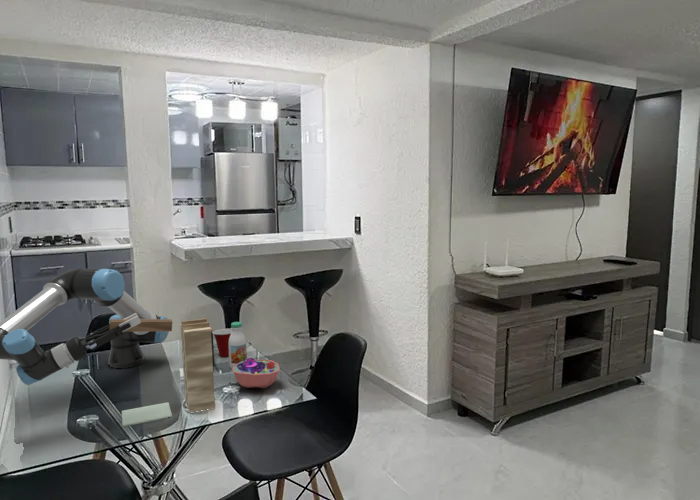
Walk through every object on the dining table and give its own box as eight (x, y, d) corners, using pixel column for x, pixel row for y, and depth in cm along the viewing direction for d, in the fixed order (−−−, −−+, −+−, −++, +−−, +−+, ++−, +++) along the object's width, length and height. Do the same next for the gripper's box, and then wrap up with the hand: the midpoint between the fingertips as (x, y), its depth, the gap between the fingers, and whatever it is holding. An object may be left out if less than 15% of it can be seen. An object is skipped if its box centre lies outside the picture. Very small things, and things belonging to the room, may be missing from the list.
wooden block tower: (185, 400, 195) (180, 319, 190) (209, 396, 199) (205, 316, 194) (189, 413, 184) (184, 328, 180) (215, 408, 188) (210, 324, 183)
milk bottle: (225, 368, 227) (223, 324, 224) (236, 362, 234) (234, 319, 231) (240, 370, 224) (238, 326, 221) (250, 364, 231) (248, 321, 228)
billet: (109, 329, 177) (110, 319, 177) (170, 328, 187) (171, 319, 186) (109, 331, 174) (110, 321, 174) (171, 331, 184) (172, 321, 183)
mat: (121, 412, 186) (121, 410, 186) (168, 403, 192) (168, 402, 192) (122, 426, 175) (122, 425, 175) (172, 417, 182) (171, 415, 182)
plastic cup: (231, 349, 252) (230, 325, 250) (241, 355, 244) (240, 330, 242) (210, 354, 245) (208, 330, 244) (219, 360, 237) (218, 335, 235)
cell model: (263, 399, 195) (262, 370, 194) (223, 389, 205) (222, 362, 203) (289, 383, 210) (289, 356, 208) (251, 374, 220) (250, 349, 218)
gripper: (76, 353, 180) (141, 321, 188) (75, 369, 165) (146, 333, 173) (65, 335, 177) (131, 303, 186) (63, 350, 163) (135, 314, 171)
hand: (138, 317), depth 180 cm, fingers closed on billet, 3 cm apart
